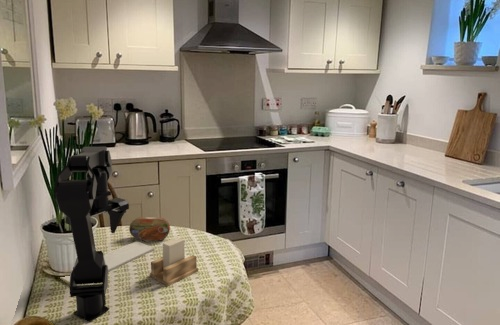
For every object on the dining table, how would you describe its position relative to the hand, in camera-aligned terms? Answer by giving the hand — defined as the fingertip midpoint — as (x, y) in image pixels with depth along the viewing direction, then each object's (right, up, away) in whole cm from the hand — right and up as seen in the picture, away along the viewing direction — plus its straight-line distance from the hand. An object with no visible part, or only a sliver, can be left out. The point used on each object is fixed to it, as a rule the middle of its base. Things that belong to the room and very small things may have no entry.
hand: (100, 238), depth 121 cm
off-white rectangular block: (+21, -11, +6) cm, 25 cm away
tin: (+7, -6, +32) cm, 33 cm away
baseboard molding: (-3, -11, +13) cm, 17 cm away
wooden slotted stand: (+21, -12, +6) cm, 25 cm away
